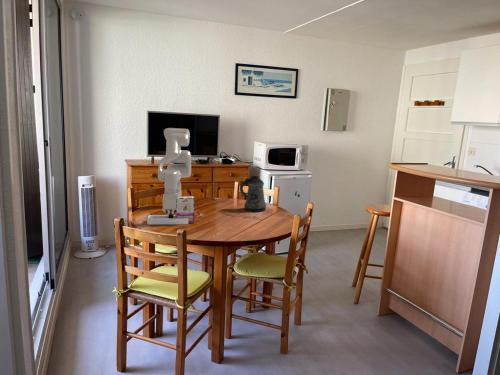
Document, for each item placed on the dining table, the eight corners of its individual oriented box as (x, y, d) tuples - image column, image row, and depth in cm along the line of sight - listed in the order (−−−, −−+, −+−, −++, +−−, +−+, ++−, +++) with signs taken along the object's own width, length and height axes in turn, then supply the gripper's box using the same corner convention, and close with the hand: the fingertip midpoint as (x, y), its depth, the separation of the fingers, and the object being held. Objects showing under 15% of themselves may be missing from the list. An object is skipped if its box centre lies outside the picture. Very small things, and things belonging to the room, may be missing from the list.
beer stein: (269, 211, 266) (271, 178, 261) (245, 213, 258) (246, 178, 254) (260, 206, 281) (262, 174, 277) (237, 208, 274) (238, 175, 269)
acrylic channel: (149, 220, 229) (149, 215, 228) (188, 220, 233) (188, 215, 232) (147, 224, 220) (147, 218, 219) (188, 224, 224) (188, 218, 223)
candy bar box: (193, 221, 231) (194, 196, 229) (194, 223, 227) (194, 197, 224) (176, 221, 229) (176, 196, 226) (176, 223, 224) (176, 197, 222)
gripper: (183, 190, 228) (183, 218, 231) (159, 190, 226) (159, 218, 229) (183, 192, 221) (182, 221, 224) (158, 192, 218) (158, 221, 221)
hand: (170, 220), depth 226 cm, fingers closed
